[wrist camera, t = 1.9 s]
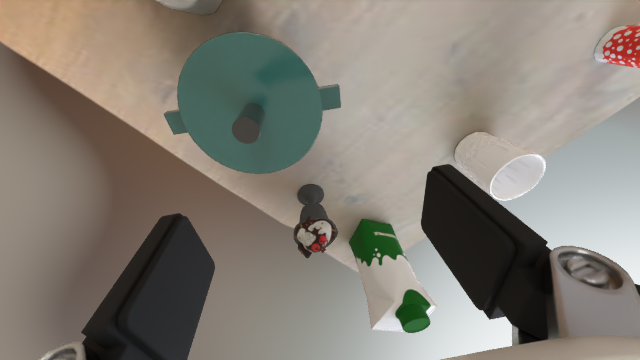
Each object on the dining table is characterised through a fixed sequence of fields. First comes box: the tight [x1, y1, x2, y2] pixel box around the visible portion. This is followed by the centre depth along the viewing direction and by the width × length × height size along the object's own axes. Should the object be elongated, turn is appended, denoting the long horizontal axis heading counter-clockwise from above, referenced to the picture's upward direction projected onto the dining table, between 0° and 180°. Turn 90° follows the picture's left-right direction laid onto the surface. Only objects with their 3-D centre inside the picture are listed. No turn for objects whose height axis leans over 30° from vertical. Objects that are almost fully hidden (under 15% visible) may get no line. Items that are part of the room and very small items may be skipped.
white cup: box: [454, 132, 546, 200], centre depth 38 cm, size 8×8×10 cm
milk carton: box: [349, 219, 437, 333], centre depth 42 cm, size 9×9×20 cm
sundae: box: [294, 184, 338, 258], centre depth 37 cm, size 7×7×15 cm
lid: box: [177, 32, 322, 174], centre depth 23 cm, size 15×15×6 cm
